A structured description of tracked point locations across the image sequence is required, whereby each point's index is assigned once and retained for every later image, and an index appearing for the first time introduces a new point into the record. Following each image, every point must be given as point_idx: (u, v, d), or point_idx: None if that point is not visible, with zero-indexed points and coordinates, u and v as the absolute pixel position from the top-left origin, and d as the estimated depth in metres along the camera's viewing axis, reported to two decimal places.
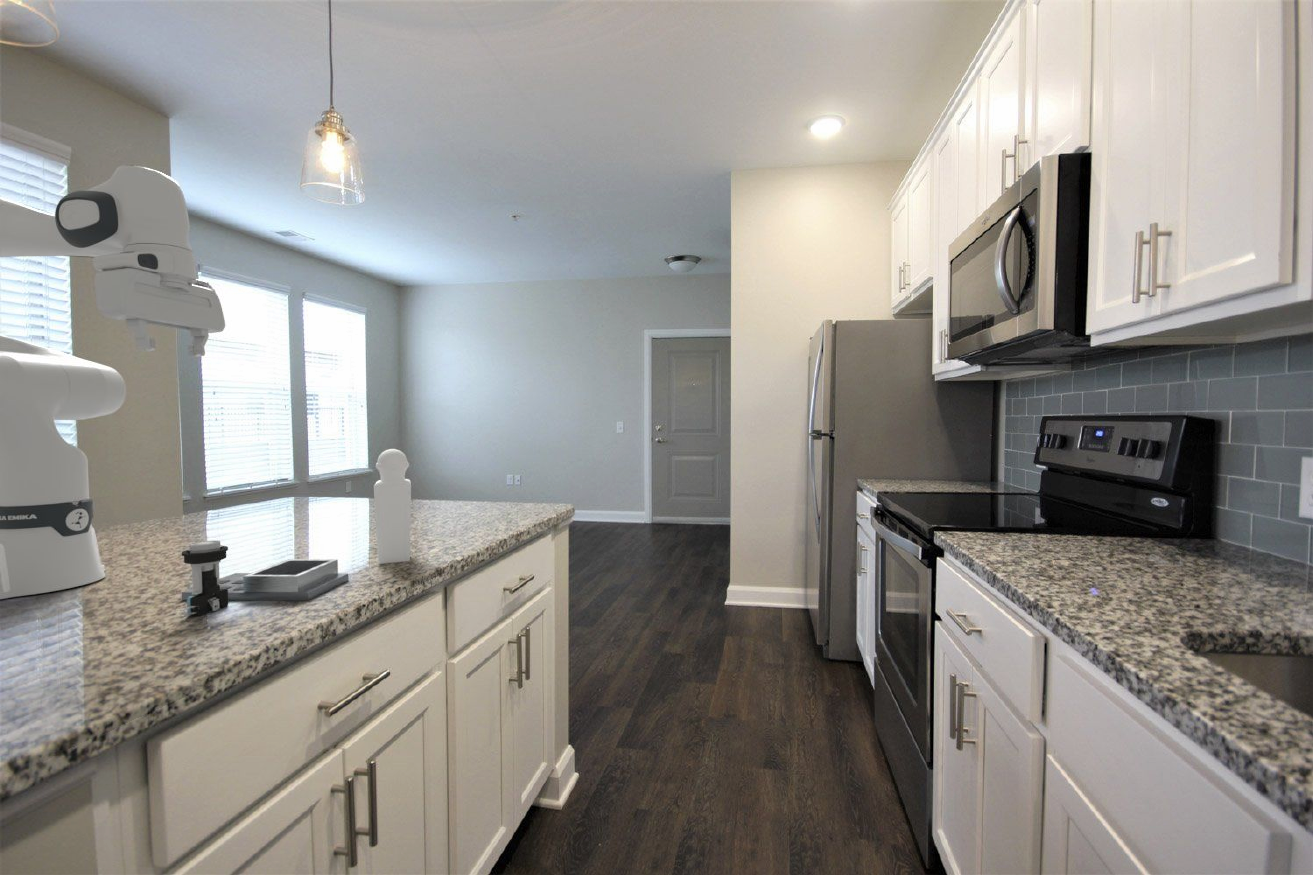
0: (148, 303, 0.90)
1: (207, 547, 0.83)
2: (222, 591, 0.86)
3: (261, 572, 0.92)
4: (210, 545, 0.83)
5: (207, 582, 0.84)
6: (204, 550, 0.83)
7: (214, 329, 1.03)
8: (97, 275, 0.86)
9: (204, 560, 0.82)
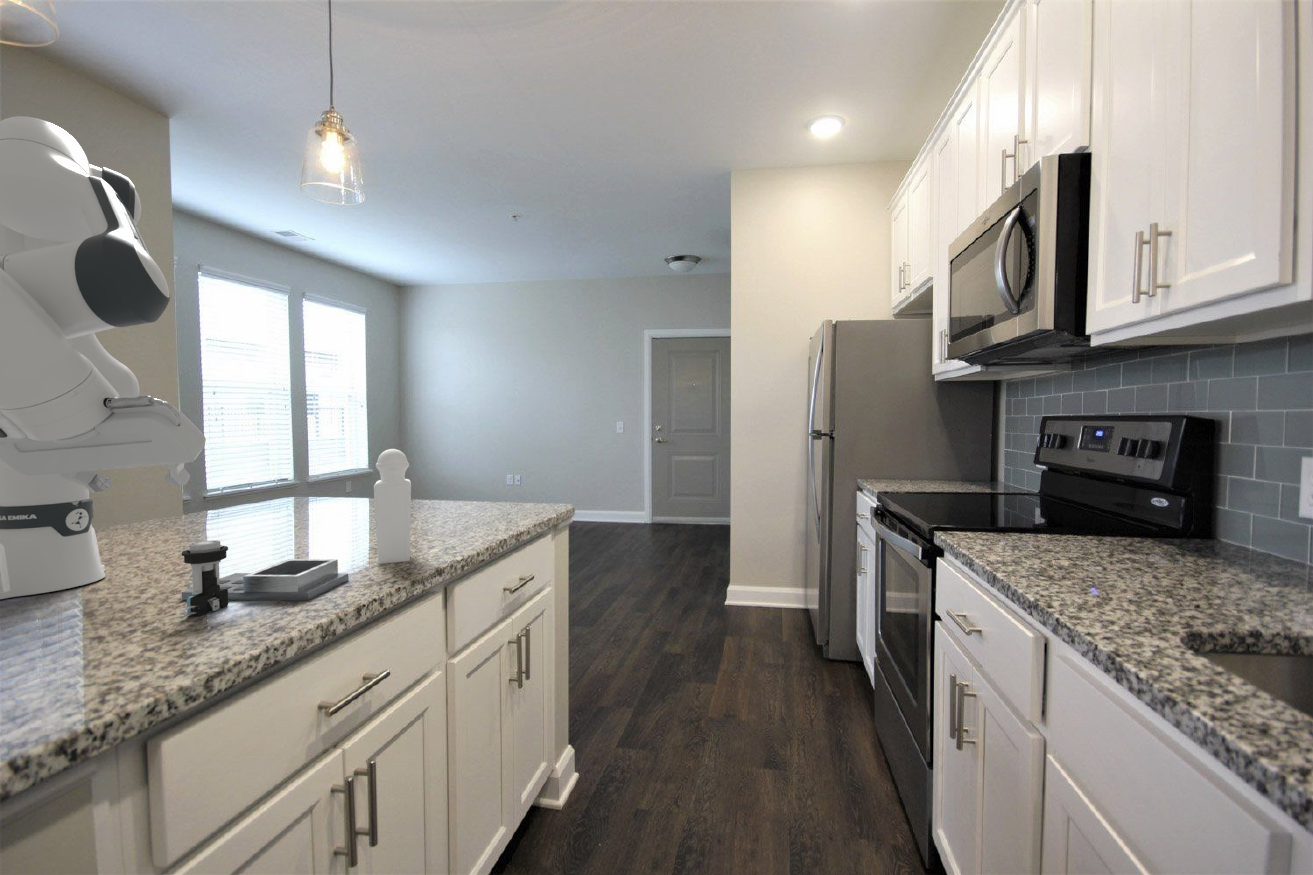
0: (47, 460, 0.67)
1: (207, 547, 0.83)
2: (222, 591, 0.86)
3: (261, 572, 0.92)
4: (210, 545, 0.83)
5: (208, 582, 0.84)
6: (204, 550, 0.83)
7: (173, 463, 0.69)
8: None
9: (204, 560, 0.82)
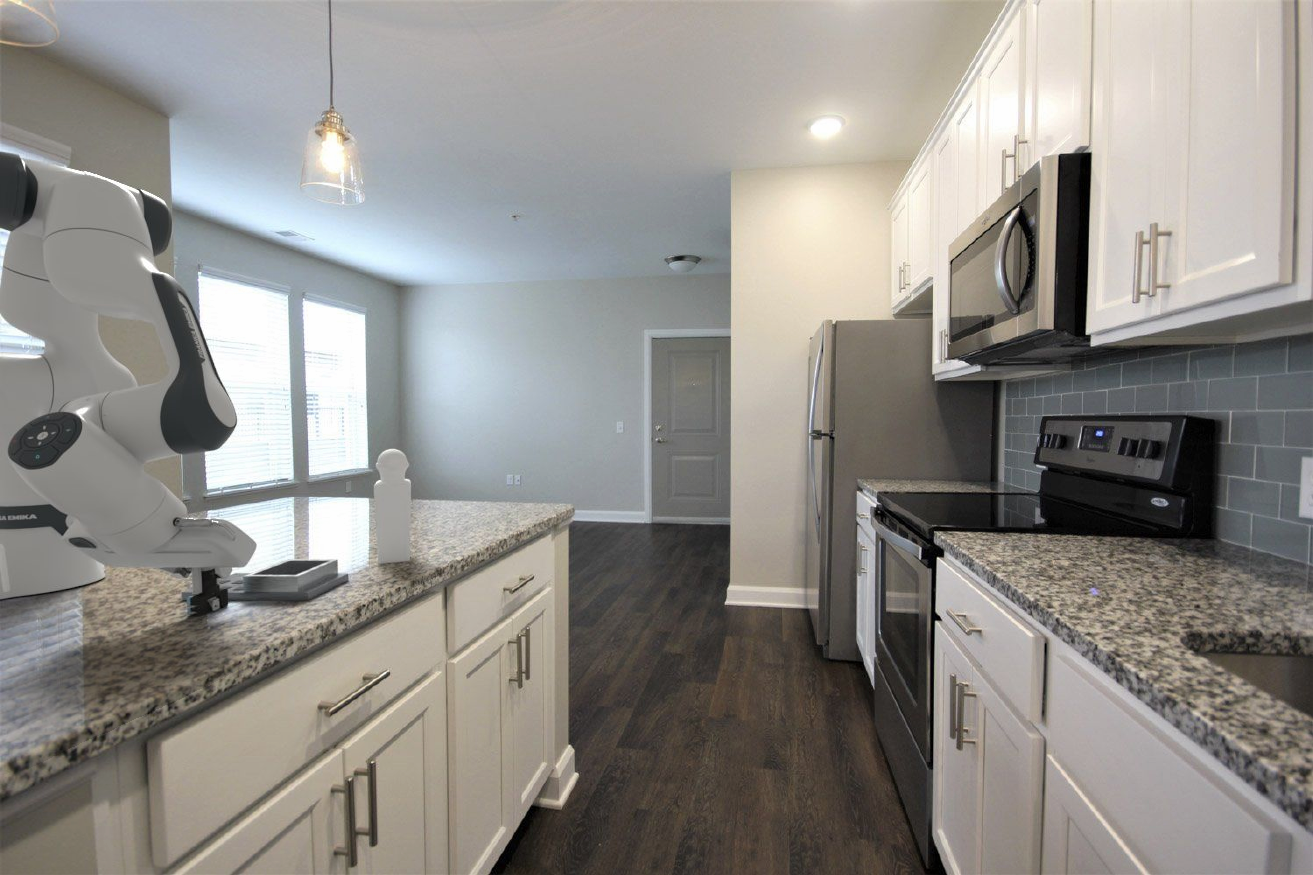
0: (128, 559, 0.78)
1: None
2: (222, 591, 0.86)
3: (261, 572, 0.92)
4: None
5: (207, 581, 0.84)
6: None
7: (228, 567, 0.79)
8: None
9: None
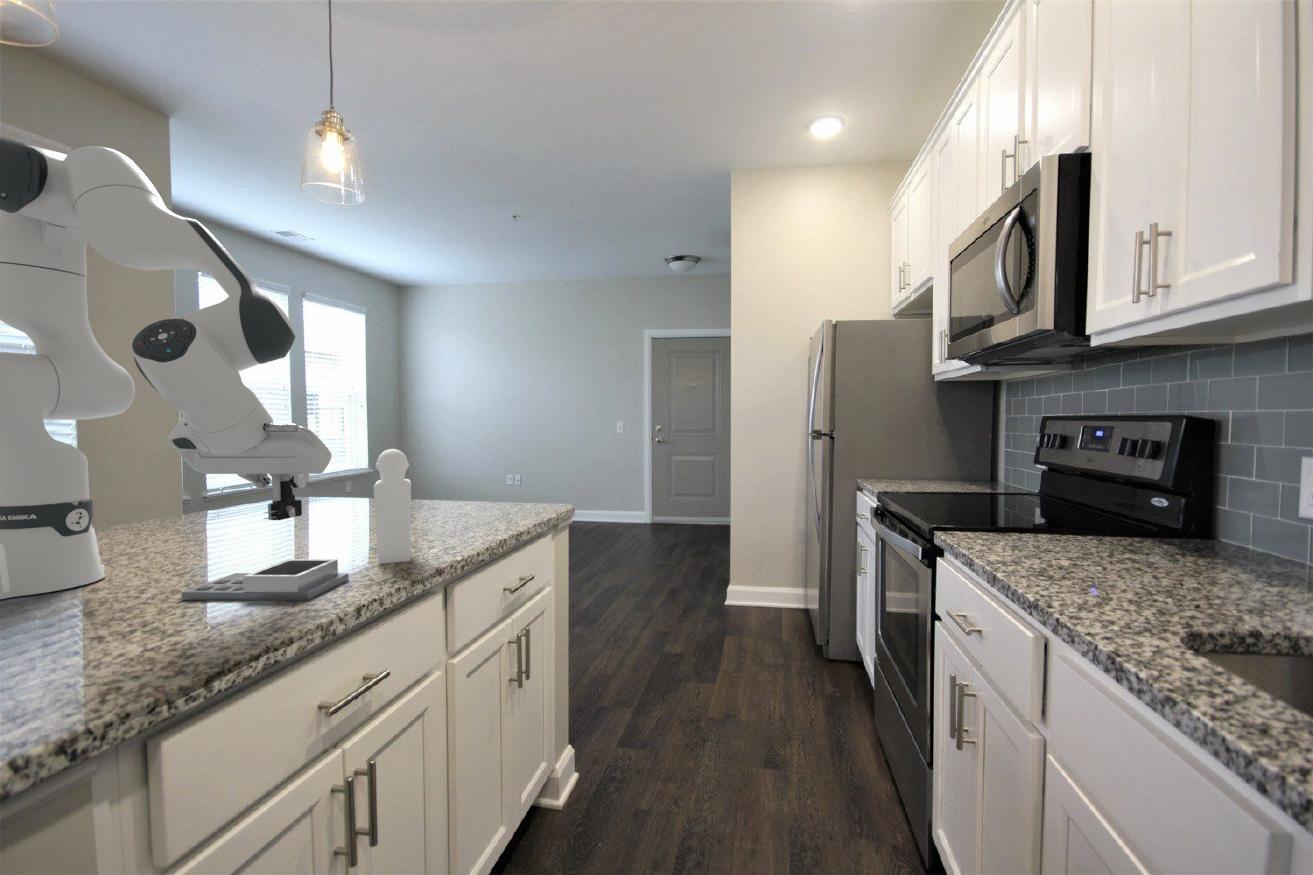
0: (219, 465, 0.87)
1: None
2: (297, 501, 0.95)
3: (261, 572, 0.92)
4: None
5: (285, 491, 0.92)
6: None
7: (307, 473, 0.88)
8: None
9: None
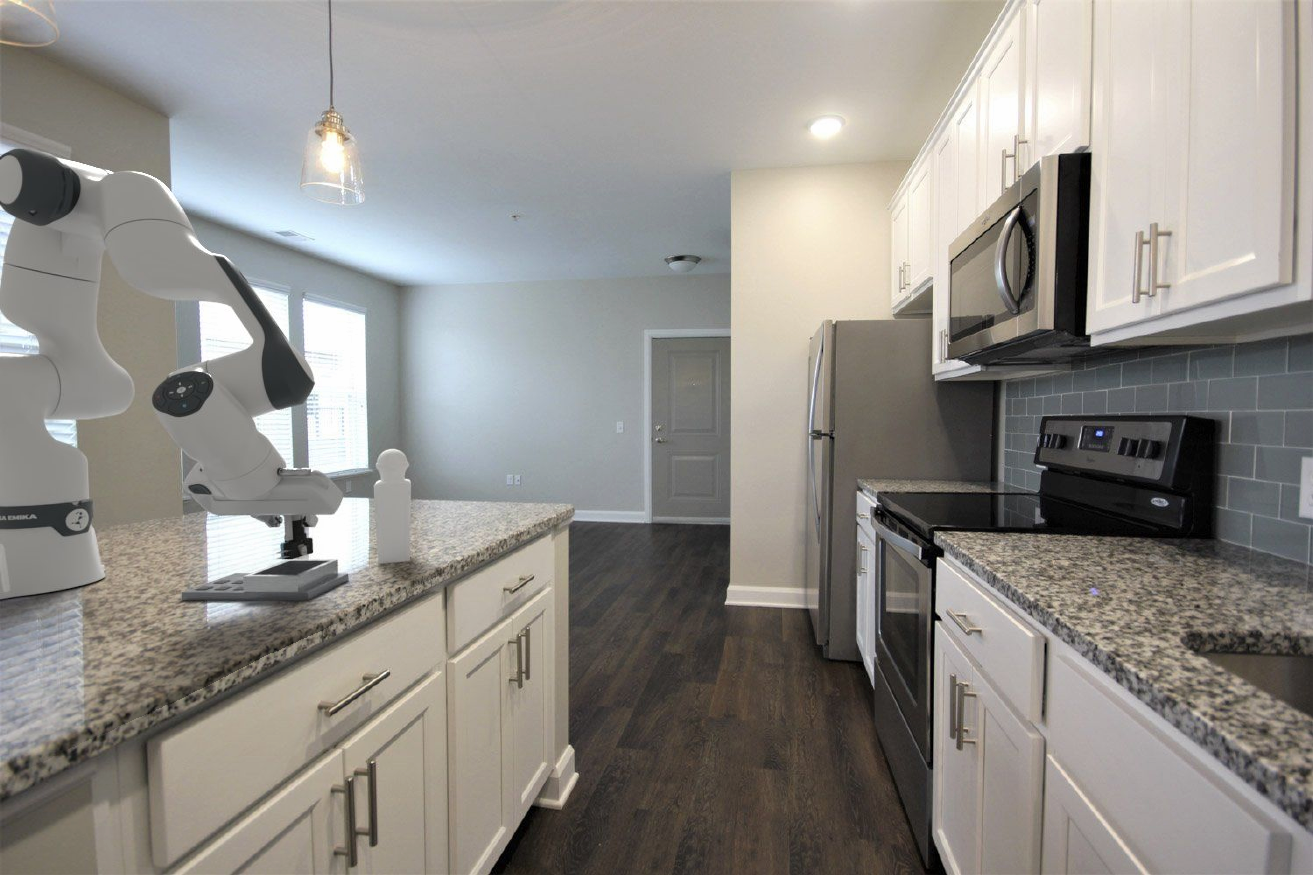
0: (233, 507, 0.89)
1: None
2: (308, 539, 0.96)
3: (261, 572, 0.92)
4: None
5: (297, 530, 0.94)
6: None
7: (320, 514, 0.90)
8: None
9: None
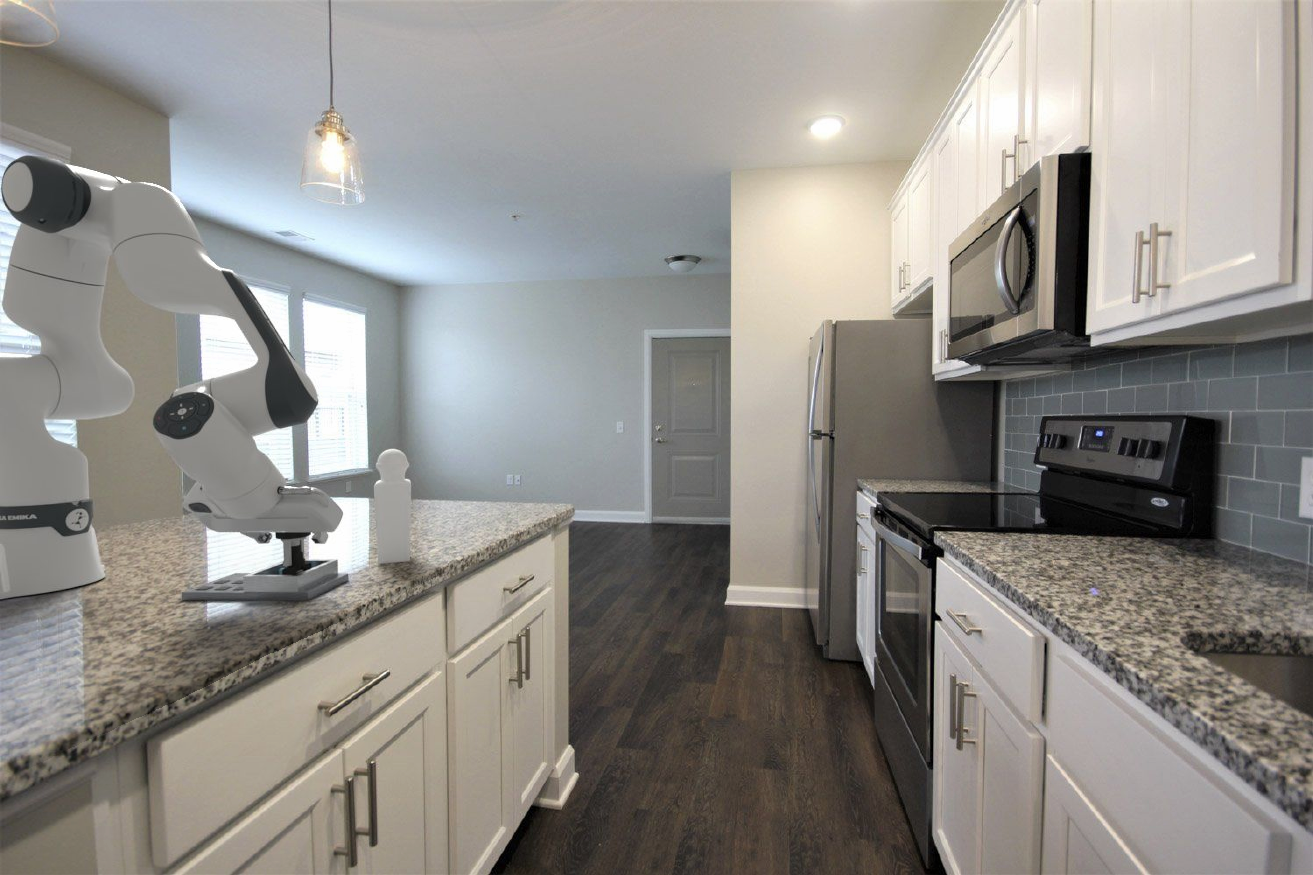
0: (233, 524, 0.89)
1: None
2: (307, 564, 0.96)
3: (261, 572, 0.92)
4: None
5: (296, 555, 0.94)
6: None
7: (319, 532, 0.90)
8: None
9: (294, 536, 0.93)
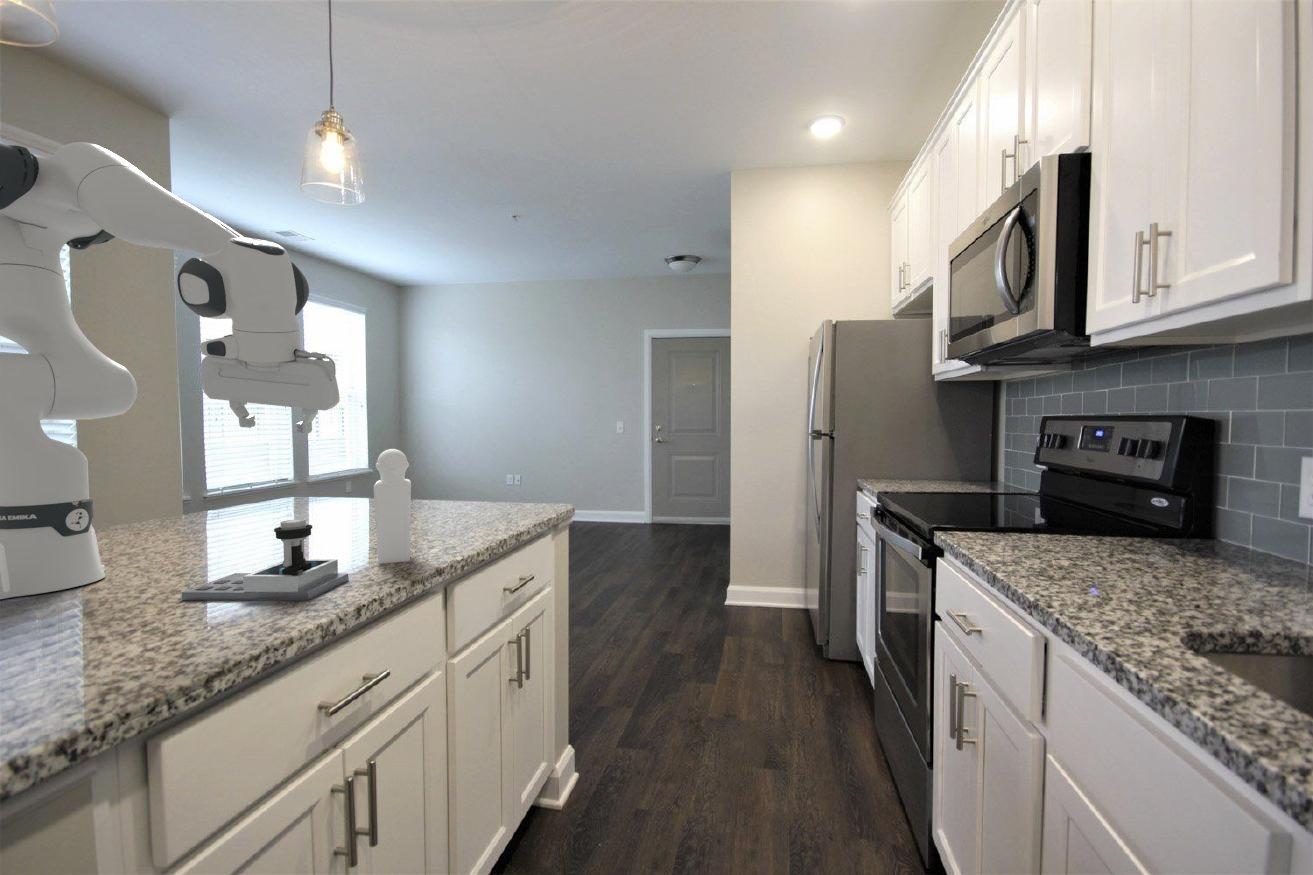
0: (231, 387, 0.92)
1: (296, 524, 0.94)
2: (307, 564, 0.96)
3: (261, 572, 0.92)
4: (299, 523, 0.94)
5: (296, 555, 0.94)
6: (294, 527, 0.93)
7: (311, 408, 0.93)
8: None
9: (294, 536, 0.93)
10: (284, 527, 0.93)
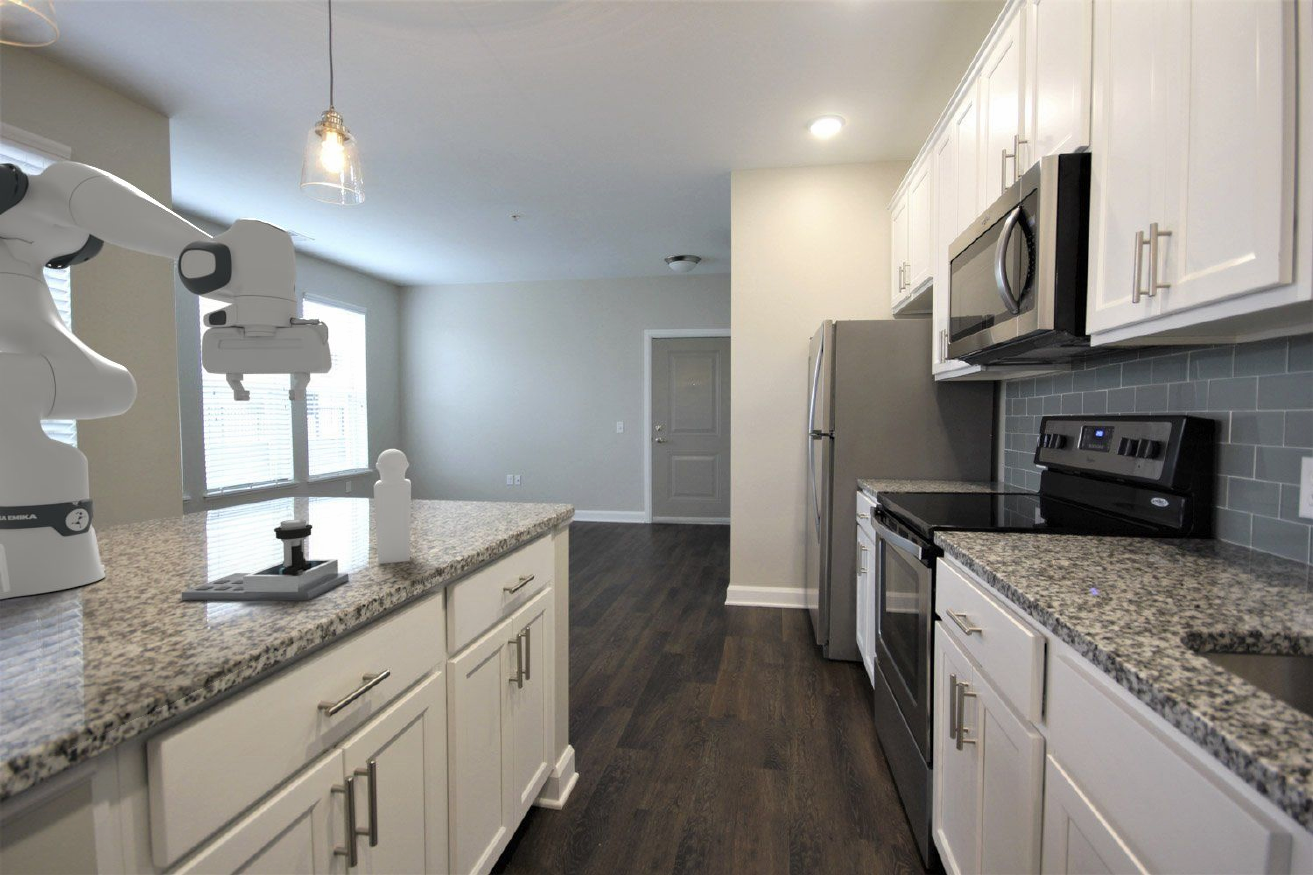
0: (229, 358, 0.96)
1: (296, 524, 0.94)
2: (307, 564, 0.96)
3: (261, 572, 0.92)
4: (299, 523, 0.94)
5: (296, 555, 0.94)
6: (294, 527, 0.93)
7: (303, 370, 0.96)
8: None
9: (294, 536, 0.93)
10: (284, 527, 0.93)
